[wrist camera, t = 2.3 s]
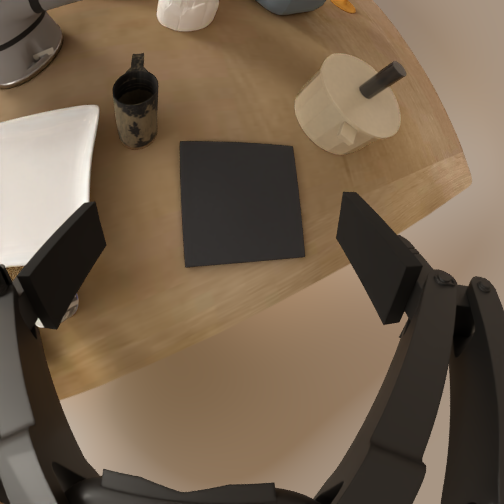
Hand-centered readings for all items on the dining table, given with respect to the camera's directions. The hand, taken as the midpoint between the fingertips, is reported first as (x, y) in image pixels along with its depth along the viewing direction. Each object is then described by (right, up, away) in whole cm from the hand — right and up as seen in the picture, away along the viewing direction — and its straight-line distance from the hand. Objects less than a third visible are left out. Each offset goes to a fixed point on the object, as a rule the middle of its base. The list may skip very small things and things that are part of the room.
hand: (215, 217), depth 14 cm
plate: (-28, +7, +15) cm, 33 cm away
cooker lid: (+19, +23, +22) cm, 36 cm away
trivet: (+1, +5, +24) cm, 25 cm away
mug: (-14, +16, +20) cm, 29 cm away
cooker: (+16, +22, +31) cm, 41 cm away
